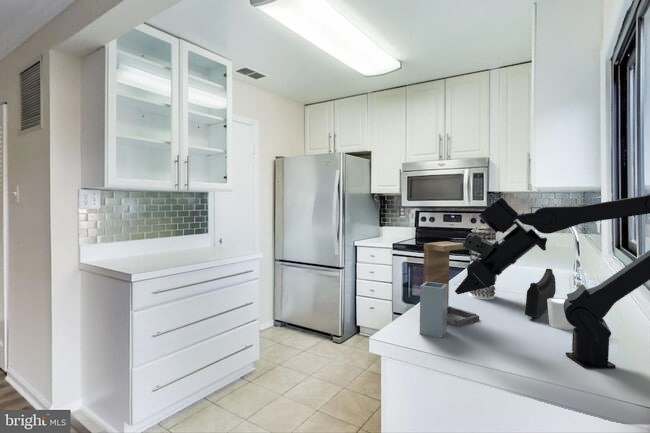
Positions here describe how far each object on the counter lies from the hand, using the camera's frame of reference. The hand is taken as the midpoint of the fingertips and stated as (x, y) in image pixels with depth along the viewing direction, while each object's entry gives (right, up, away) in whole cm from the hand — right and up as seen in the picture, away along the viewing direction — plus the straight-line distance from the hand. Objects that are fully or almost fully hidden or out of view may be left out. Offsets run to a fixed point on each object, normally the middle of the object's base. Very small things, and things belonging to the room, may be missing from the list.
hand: (459, 288), depth 91 cm
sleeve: (-5, -12, +4) cm, 14 cm away
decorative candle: (+22, -11, +39) cm, 46 cm away
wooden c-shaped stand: (+4, -12, +15) cm, 19 cm away
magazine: (+35, -12, +25) cm, 45 cm away
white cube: (+31, -12, +9) cm, 35 cm away
